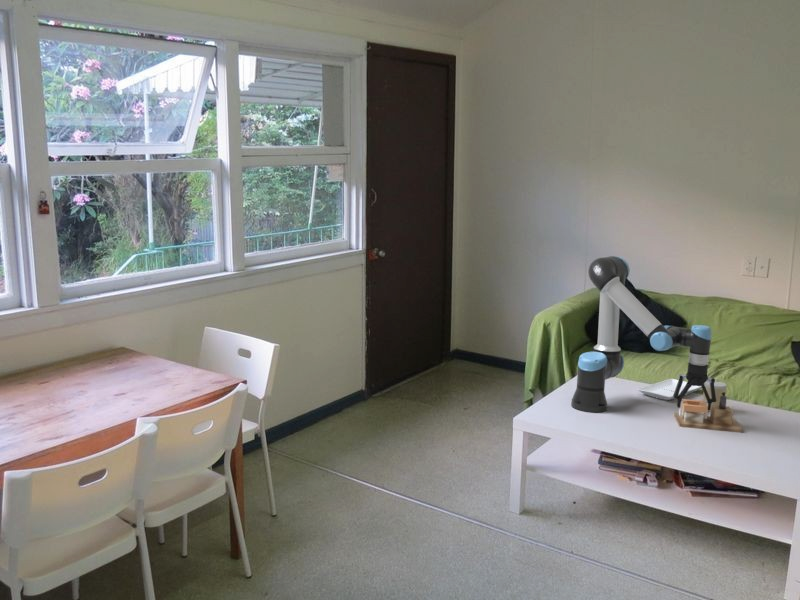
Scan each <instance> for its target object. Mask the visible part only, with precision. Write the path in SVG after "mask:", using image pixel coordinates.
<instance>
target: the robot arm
mask: <svg viewBox="0 0 800 600" xmlns="http://www.w3.org/2000/svg"><path fill="white" fill-rule="evenodd" d="M629 275H630V266H629V263H628V262H627V260H626V259H624V258H623V257H620V256H616V255H610V256H609V255H608V256H605V257H598V258H595V259H594V260H592V262H591V263H590V265H589V266H588V277H589V280H590V281H591V283H592V284H593V285H594V287H595V288H596V289H597V290H598V291H599V309H598V312H599V313H598V329H597V344H596V345H594V346H593V351H587V352H583V353H582V354H580V355H579V358H578V363H577V376H576V377H577V378H576V389H575V390H574V393H573V396H572V398H571V403H570V405H571V407H572V408H573V409H575V410H578V411H581V412H589V413H601V412H605V411H607V409H608V401H607V397H606V393H605V385H606V380H608V379H612V378H615V377H616V376H618V375H619V374H621V372H622V370H623V369H624V366H625V359H624V356H622V349H621V346H619V345H618V344H619V342H618V341H619V324H620V310H621V311H622V312H623V313H624V314H625V315H626V316H627V317H628V318H629V319H630V320H631V322H633V323H634V324H635V325H636V327H637V328H639V330H640V331H641V332H643V334H644V335H645V336H646V337H647V338H648V340H649V343H650V346H651V347H652V348H653V350H655V351H658V352H663V351H667V350H670V349H671V348H674V347H677V346H678V347H679V346H680V347H685V348H689V351H688V353H689V355H688V363H687V371H686V374H683V375H682V374H678V380H679V381H678V383H677V386H676V389H675V392H674V395H673V397H674V398H675V399H676V401H677V402H676V406H677V408H678V413H679V416H682V411H683V409H682V408H683V400H682V399H684V397H685V396H686V395H685V394H686V393H687V391H688V390H689V388H690V387H691V386H701V387H702V388H701V389H702V393H703V392H704V394H705V397H706V399H707V401H705V404H706V405H707V407H708V410H709V411H710V408H711V403H712V402H716V395H715V388H714V382H715V381H716V379H715V378H714V377H713V376H712V377H709V376H708V371H709V370H708V369H709V365H708V364H709V359H710V349H711V341H712V328H711V327H710V326H708V325H704V324H703V325H700V324H695V325H692V326H691V328H685V327H679V326H675V325H663V324H662V323H661V321H659V320H658V319H657V318H656V316H655V315H653V313H651V312H650V311H649V310H648V308H647V307H645V305H643V304H642V302H641V301H640V300H639V299H638V298H636V296H635V295H634V294H633V293H632V292H631V291H630V290H629V289H628V288H627V287H626V286H625V285H626V280H627V279H628V277H629ZM685 379H686V380H687V381H686V382H687V384H686V386H685V387H684V388H683V390H682V391H681V393H680V394H679V391H680V388H681V386H682V383H683V381H685ZM706 381H709V383H710V389H711V396H712V398H711V399H710V397H709V395H708V392H707V390H706V387H705V385H704V383H705V382H706ZM678 394H679V396H678ZM703 414H704V418H705V419H707V416H708V412H707V413H703Z"/></svg>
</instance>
